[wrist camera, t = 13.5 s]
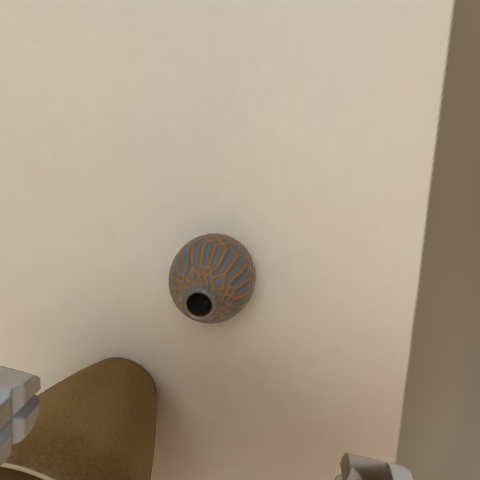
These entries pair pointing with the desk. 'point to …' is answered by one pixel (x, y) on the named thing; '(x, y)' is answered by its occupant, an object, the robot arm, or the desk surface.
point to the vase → (212, 278)
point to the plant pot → (91, 428)
